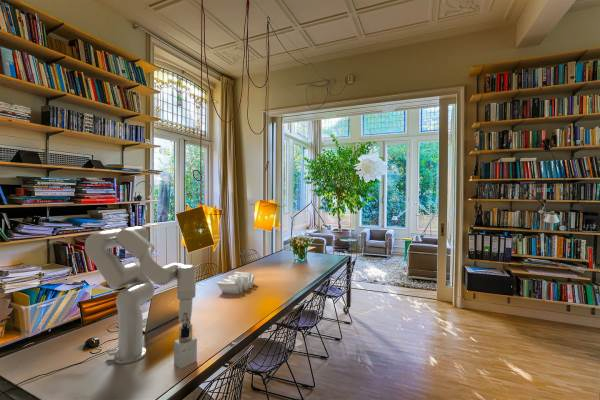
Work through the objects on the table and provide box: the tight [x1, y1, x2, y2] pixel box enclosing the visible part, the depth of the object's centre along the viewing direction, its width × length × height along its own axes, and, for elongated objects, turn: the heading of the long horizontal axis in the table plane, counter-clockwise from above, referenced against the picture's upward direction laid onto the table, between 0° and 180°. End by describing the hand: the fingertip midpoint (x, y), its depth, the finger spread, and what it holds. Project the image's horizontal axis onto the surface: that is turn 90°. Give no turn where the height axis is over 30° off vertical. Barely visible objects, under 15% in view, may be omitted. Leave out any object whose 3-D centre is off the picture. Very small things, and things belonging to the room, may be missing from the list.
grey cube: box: [178, 322, 193, 343], centre depth 127 cm, size 6×6×6 cm
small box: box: [173, 335, 198, 370], centre depth 127 cm, size 8×6×10 cm
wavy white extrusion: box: [216, 271, 255, 295], centre depth 225 cm, size 35×16×10 cm, turn 155°
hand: (185, 331), depth 127 cm, fingers open, 9 cm apart
